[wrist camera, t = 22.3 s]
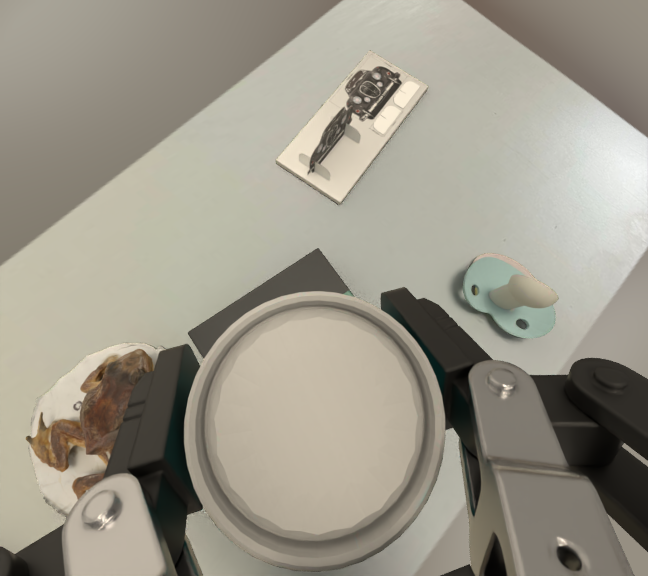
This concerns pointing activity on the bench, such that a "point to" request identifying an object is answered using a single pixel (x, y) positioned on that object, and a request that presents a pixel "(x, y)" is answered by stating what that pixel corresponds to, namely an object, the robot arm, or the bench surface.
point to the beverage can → (314, 431)
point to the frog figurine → (84, 421)
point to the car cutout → (352, 127)
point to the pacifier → (510, 295)
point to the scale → (272, 296)
